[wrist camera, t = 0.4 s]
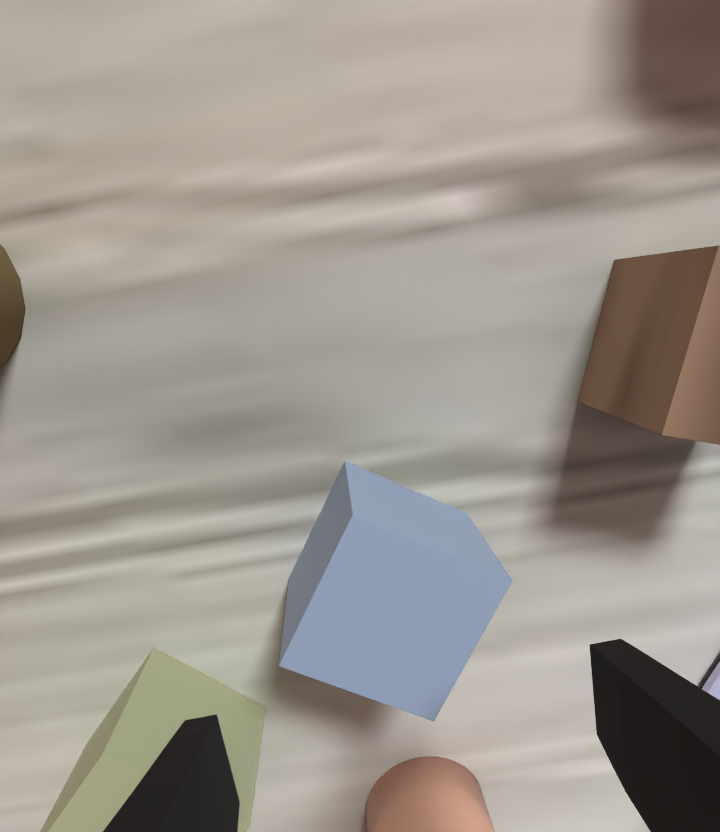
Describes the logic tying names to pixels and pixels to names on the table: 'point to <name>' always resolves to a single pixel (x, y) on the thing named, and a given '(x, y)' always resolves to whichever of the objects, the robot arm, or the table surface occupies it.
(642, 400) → the walnut cube
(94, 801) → the olive cube
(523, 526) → the table surface
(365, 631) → the slate blue cube
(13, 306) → the cork
